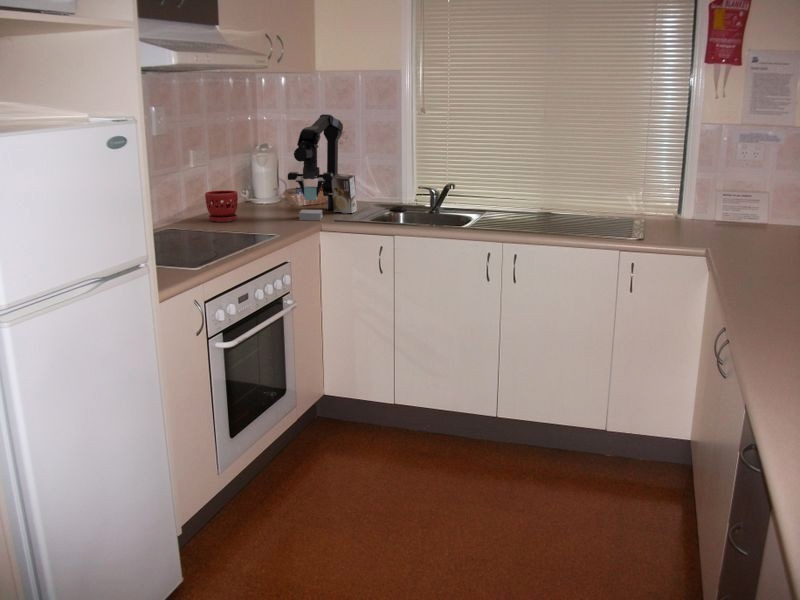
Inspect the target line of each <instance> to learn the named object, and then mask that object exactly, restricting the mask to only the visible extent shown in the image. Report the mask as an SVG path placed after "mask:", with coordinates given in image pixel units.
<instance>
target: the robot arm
mask: <svg viewBox="0 0 800 600" xmlns="http://www.w3.org/2000/svg"><path fill="white" fill-rule="evenodd" d="M343 130H344V125H343V123H342V122H341V121H340V120H339V119H338V118H336V117H334V116H333V115H332V114H324V113H323V114H320V115H319V118H318V119H316V120H315V122H314V123H313V124H312V125H310V126H307V127H304V128H302V130H301V131H300V133H299V136H298V140H297V144H296V146H297V147H296V149H295V150H294V152H293V157H294V159H295V160H296V161H297V162H299V163H301V162H303V167H302V173H299V171H290V172H288V173H287V180H288V181H295V182H296V183H298V185H299V187H300V189H301V192H302V195H303V196H304V188H305V180H315V179H318V180H317V186H316V187H317V198H318V197H319V194H320V192H321V191H320V190H321V189H322V194H323V195H322V196H324V197H327V207H326V209H327V210H326V211H334V206H333V193H332V180H333V176H335V175H336V174H339V172H338V170H339V166H338V165H339V161H338V160H339V158H338V157H339V140H340V138H341V136H342V134H343ZM322 133H323V136H324V138H325V140H326V141H327V143H326V146H327V148H326V149H327V150H326V155H327V156H326V158H327V159H326V171H325V172H323V173H320V172H321V170H320V169H321V168H320V167H319V166H318V148H319V145H318V144H319V142H320V140H321V134H322Z"/></svg>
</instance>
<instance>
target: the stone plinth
mask: <svg viewBox="0 0 800 600" xmlns="http://www.w3.org/2000/svg"><path fill="white" fill-rule="evenodd" d="M321 218H323V209H301V210H300V211H299V213H298V220H299V221H318V220H322V219H321Z"/></svg>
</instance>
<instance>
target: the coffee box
mask: <svg viewBox="0 0 800 600" xmlns="http://www.w3.org/2000/svg"><path fill="white" fill-rule="evenodd" d="M332 194H333V206H334V210H333V213H335V212H342V213H341V214H347V213H353V212H354V213H355V212H356V211H357V210H358V208H357V207H358V206H357V191H356V176H355V175H353V174H340V173H338V174H336V175H335V176H333V180H332ZM354 213H353V214H354Z"/></svg>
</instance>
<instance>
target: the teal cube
mask: <svg viewBox="0 0 800 600" xmlns="http://www.w3.org/2000/svg"><path fill="white" fill-rule="evenodd" d="M304 187H305V188H304V195H303V198H304V199H303V200H304V201H317V200H318V197H317V186H309V185H308V186H305V185H304Z"/></svg>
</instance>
